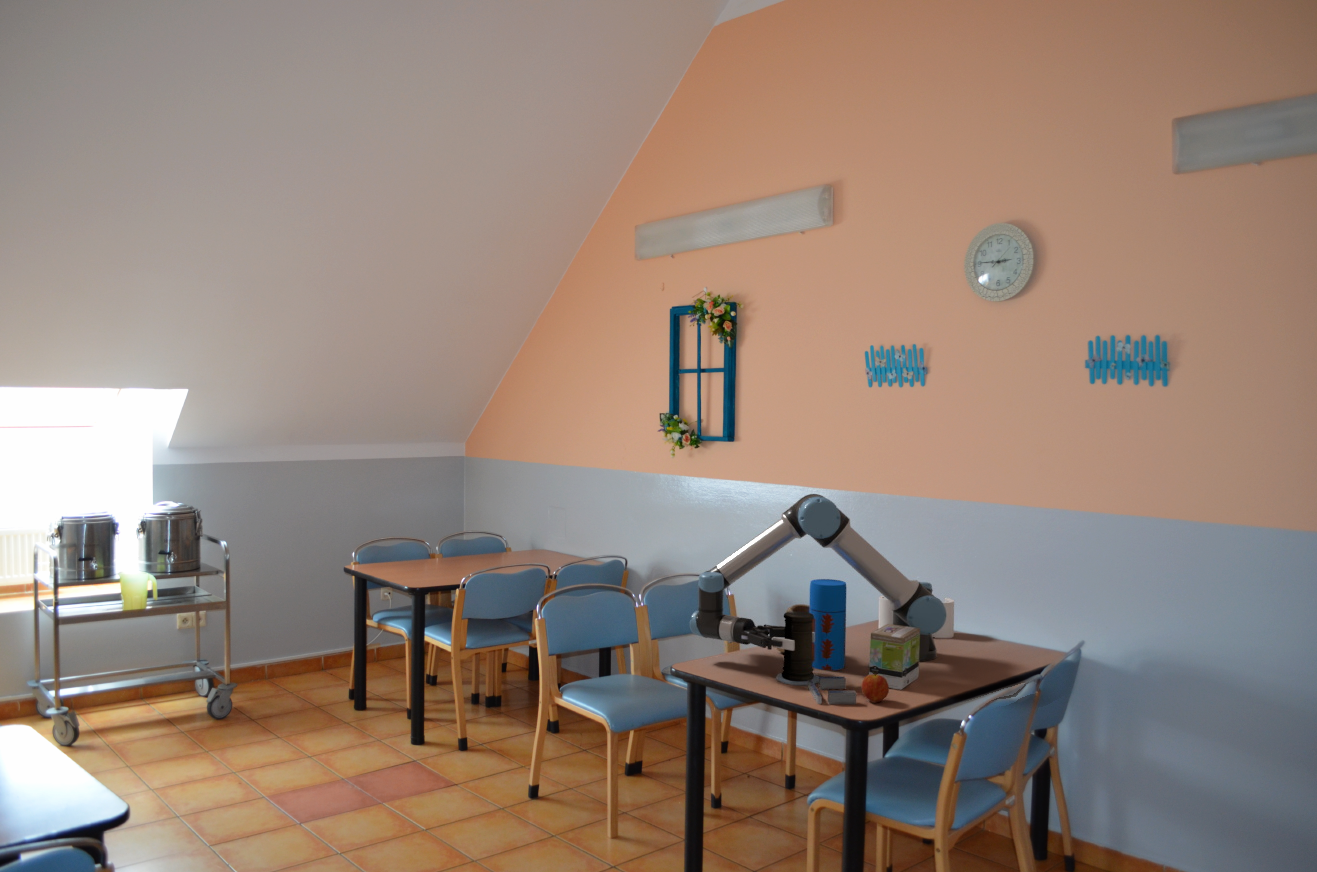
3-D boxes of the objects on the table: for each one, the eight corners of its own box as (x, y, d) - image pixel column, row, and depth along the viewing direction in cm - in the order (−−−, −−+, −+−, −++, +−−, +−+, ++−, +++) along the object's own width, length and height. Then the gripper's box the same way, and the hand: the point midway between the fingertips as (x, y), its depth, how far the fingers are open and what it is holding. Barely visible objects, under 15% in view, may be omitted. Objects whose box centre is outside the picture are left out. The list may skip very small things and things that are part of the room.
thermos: (844, 671, 277) (846, 586, 277) (807, 668, 279) (809, 584, 279) (845, 661, 288) (846, 579, 287) (809, 659, 290) (810, 578, 289)
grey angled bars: (844, 687, 261) (844, 676, 261) (856, 704, 246) (856, 692, 246) (807, 687, 261) (808, 676, 261) (817, 703, 246) (817, 692, 246)
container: (814, 674, 272) (815, 611, 271) (812, 682, 263) (813, 618, 263) (783, 671, 274) (784, 609, 273) (780, 680, 265) (781, 616, 265)
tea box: (903, 690, 259) (904, 637, 258) (867, 684, 264) (868, 632, 264) (919, 677, 272) (920, 626, 271) (885, 672, 277) (886, 622, 277)
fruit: (855, 699, 251) (856, 669, 250) (875, 695, 254) (876, 666, 254) (874, 706, 245) (874, 675, 244) (894, 702, 248) (894, 672, 248)
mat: (815, 673, 275) (815, 671, 275) (823, 685, 263) (823, 683, 263) (774, 673, 274) (774, 671, 274) (779, 685, 262) (779, 683, 262)
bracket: (880, 635, 323) (880, 600, 322) (877, 629, 332) (877, 594, 332) (955, 638, 319) (956, 603, 319) (950, 632, 329) (951, 597, 329)
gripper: (758, 635, 290) (823, 646, 277) (716, 650, 271) (783, 663, 258) (758, 610, 290) (823, 620, 277) (716, 624, 270) (784, 635, 257)
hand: (804, 641), depth 267 cm, fingers open, 11 cm apart
